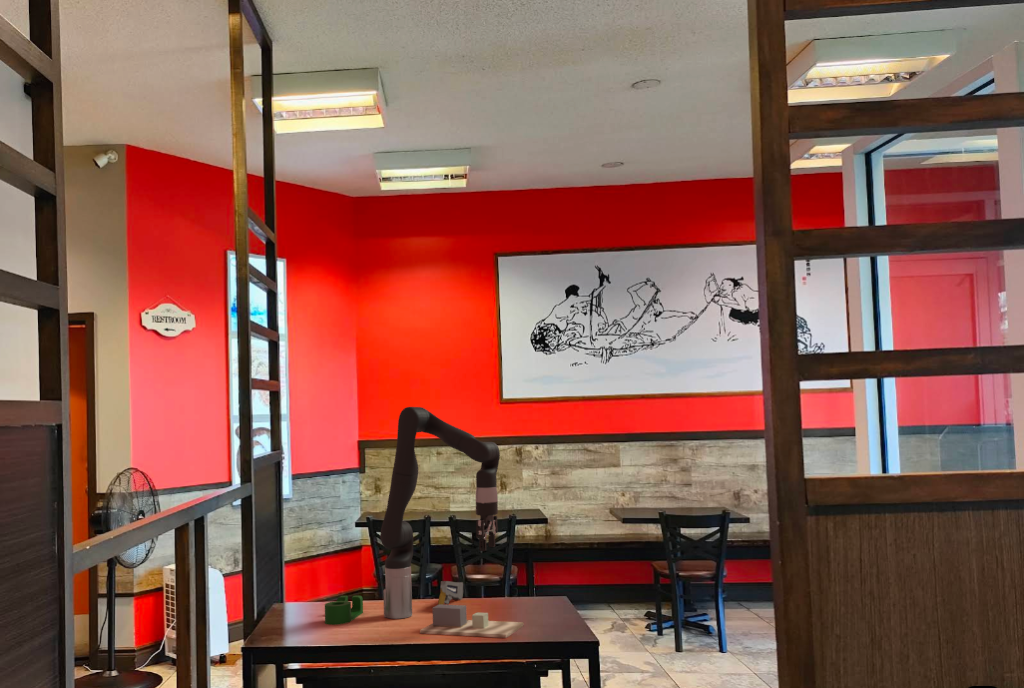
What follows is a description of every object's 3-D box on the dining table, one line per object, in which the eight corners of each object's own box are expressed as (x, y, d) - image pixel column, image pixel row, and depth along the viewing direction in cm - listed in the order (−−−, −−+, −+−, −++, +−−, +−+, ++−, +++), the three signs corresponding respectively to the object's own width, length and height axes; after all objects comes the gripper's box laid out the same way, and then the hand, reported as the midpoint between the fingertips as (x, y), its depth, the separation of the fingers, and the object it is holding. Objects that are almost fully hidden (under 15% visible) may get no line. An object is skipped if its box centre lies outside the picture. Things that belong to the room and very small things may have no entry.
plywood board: (420, 633, 257) (419, 630, 257) (441, 621, 272) (441, 618, 272) (506, 637, 246) (506, 634, 246) (523, 625, 261) (523, 622, 261)
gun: (462, 622, 306) (465, 583, 314) (441, 611, 285) (445, 569, 292) (454, 622, 307) (457, 583, 314) (433, 611, 286) (437, 569, 293)
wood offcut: (472, 627, 257) (472, 615, 257) (477, 624, 261) (476, 612, 261) (483, 628, 256) (483, 615, 256) (488, 625, 259) (488, 612, 260)
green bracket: (345, 625, 273) (345, 606, 274) (321, 625, 274) (320, 606, 275) (363, 613, 291) (362, 595, 292) (339, 613, 292) (339, 595, 293)
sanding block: (433, 626, 261) (432, 607, 262) (439, 622, 266) (439, 604, 267) (460, 627, 258) (460, 608, 258) (466, 624, 262) (466, 605, 263)
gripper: (483, 498, 278) (484, 545, 276) (468, 502, 265) (469, 551, 263) (504, 498, 276) (504, 546, 274) (489, 502, 262) (490, 552, 261)
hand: (487, 548), depth 269 cm, fingers open, 8 cm apart
